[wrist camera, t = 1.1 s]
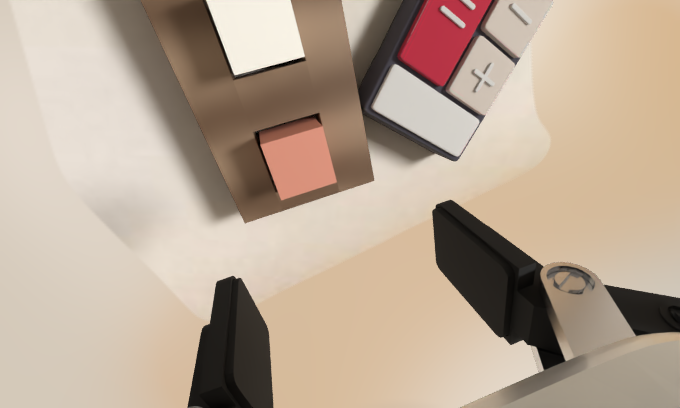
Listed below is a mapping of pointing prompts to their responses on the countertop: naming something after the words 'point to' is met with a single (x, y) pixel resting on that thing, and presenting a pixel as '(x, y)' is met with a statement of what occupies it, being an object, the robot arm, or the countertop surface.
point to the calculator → (447, 67)
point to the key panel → (267, 98)
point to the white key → (256, 32)
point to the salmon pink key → (298, 157)
